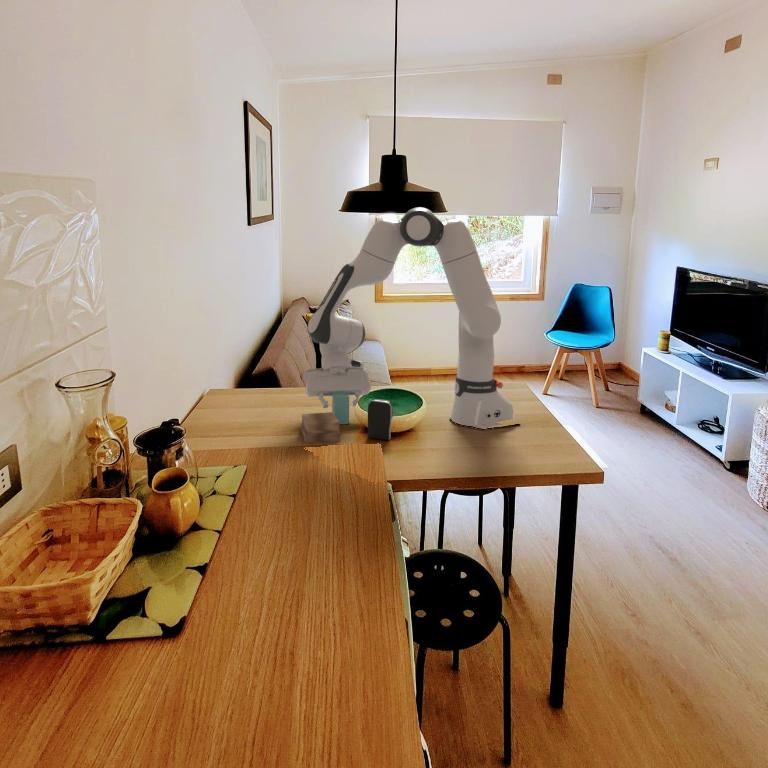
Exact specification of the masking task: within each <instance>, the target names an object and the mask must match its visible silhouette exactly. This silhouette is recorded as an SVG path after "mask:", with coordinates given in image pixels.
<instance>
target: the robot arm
mask: <svg viewBox="0 0 768 768" xmlns="http://www.w3.org/2000/svg"><path fill="white" fill-rule="evenodd" d="M406 245H410V246H413V247H430V246H431V247H432V246H434V248H435V249H436V251H437V254H438V255H439V260H440V262H441V265H442V267H443V272H444V273H445V277H446V280H447V282H448V285H449V289H450V291H451V293H452V296H453V298H454V301H455V303H456V306H457V309H458V357H457V359H458V360H457V361H458V362H457V371H456V372H457V373H456V374H457V375H456V376H455V382H454V394H455V396H454V401H453V404H452V409H451V412H450V414H449V417H450V418H451V419H452V420H453V421H454V422H457V423H460V424H464V425H468V426H474V427H477V428H488V427H492V426H498V425H502V424H500V423H497V422H501V421H505V420H511V419H514V415H515V413H514V407H513V404H512V402H511V400H509V399H508V398H507V397H506V396H505V395H503V394H502V393H501V392H500V391H499V390H498V389H502V388H504V383H503V382H502V381H500V380H496V379H495V378H493V375H494V364H495V363H494V362H495V347H494V346H495V345H494V335H495V334H496V333H497V332H499V329H500V328H501V324H502V318H501V313H500V311H499V310H500V309H499V307H498V305H497V303H496V300H495V297H494V294H493V292H492V289H491V286H490V285H489V282H488V280H487V279H488V278H487V277H486V275H485V271H484V268H483V265H482V262H481V260H480V256H479V254H478V250H477V247H476V243H475V241H474V239H473V238H472V235H471V233H470V231H469V228H468V227H467V225H466V224H465V222H464V221H462V220H460V219H456V218H455V219H454V218H453V219H449V220H446V221H441V220H440V219H439V218H438V217H437V216H436V215H435V214H434V213H433V212H432V210H430V209H429V208H426V207H423V206H422V207H421V206H419V207H414V208H411V209H409V210H408V211H407V212H406V213H405V214H404V215H403V217H401V218H400V220H396V221H395V220H392V219H389V218H381V219H378V220H377V221H375V222H374V224H373V225H372V227H371V228H370V230H369V232H368V233H367V234H366V237H365V239H364V241H363V244H362V246H361V248H360V251H359V253H358V254H357V256H356V257H355V258H354V259H353V261H351V262H350V263H346V264H345V265H343V267H341V269H340V270H339V272H338V274H336V277H335V278H334V280H333V282H332V283H331V285H330V287H329V289H328V291H327V293H326V294H325V296H324V298H322V301H321V303H320V304H319V306H318V308H316V310H315V311H314V312H313V314H312V315H311V317H310V318H309V320H308V323H307V328H306V329H307V333H308V335H309V337H310V338H311V339H312V341H313V342H314V343H316V344H319V351H320V354H321V359H320V360H321V361H320V362H321V368H308V369H306V370H304V373H303V378H304V380H305V382H306V385H305V388H306V389H305V391H306V392H305V393H306V395H307V396H308V397H309V398H310V397H311V398H313V397H318V401H320V403H321V404H322V408H323V409H328V408H329V401H328V400H326V399H325V398H324V397H332V393H347V394H348V395H349V396H355V399H352V400H353V401H352V407H353V408H356V407H355V406H356V404H357V403H359V400H360V398H361V396H365V395H369V393H370V392H371V390H372V385H371V384H372V383H371V380H370V376H369V373H368V372H367V371H366V370H365V363H364V362H363V361H360V360H356V359H352V358H349V353H352V352H354V351H356V350H357V349H358V348H359V347H361V346H362V345H363V344H364V343H365V340H366V329H365V325H364V323H363V322H362V321H361V320H358V319H355V318H352V317H348V316H344V315H341V314H337V310H338V308H339V307H340V305H341V304H342V302H343V300H344V299H345V297H346V295H347V293H349V292H350V291H351V290H352V289H355V288H358V287H363V286H373V285H377V284H380V283H382V282H384V281H386V279H388V278H389V276H390V275H391V273H392V270H393V268H394V266H395V264H396V261H397V259H398V256H399V254H400V252H401V250H402V249H403V248H404V247H405V246H406ZM497 388H498V389H497ZM477 428H476V429H477Z"/></svg>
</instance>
